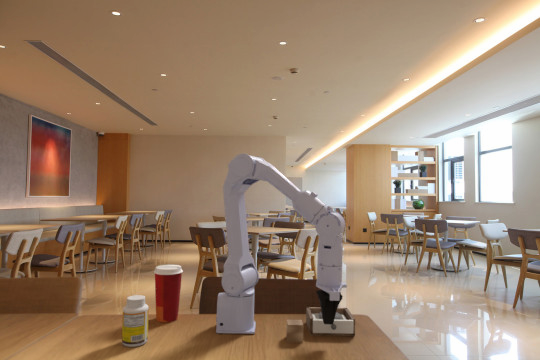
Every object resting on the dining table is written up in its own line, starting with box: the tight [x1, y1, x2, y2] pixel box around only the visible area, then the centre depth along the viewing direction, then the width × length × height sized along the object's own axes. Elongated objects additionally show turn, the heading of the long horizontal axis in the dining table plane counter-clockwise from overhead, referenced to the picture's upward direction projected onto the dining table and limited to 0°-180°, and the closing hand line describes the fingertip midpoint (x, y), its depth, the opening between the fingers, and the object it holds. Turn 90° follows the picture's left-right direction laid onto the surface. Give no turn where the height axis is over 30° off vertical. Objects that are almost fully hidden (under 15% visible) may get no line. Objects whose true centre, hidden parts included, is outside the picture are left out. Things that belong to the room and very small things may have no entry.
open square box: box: [305, 306, 356, 337], centre depth 96 cm, size 11×9×4 cm
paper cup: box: [153, 264, 184, 324], centre depth 101 cm, size 8×8×14 cm
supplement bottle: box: [121, 294, 149, 348], centre depth 85 cm, size 6×6×10 cm
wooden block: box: [286, 319, 304, 343], centre depth 88 cm, size 4×4×4 cm
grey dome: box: [319, 312, 341, 320], centre depth 96 cm, size 6×6×2 cm
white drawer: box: [312, 313, 354, 334], centre depth 95 cm, size 10×10×3 cm
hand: (328, 323), depth 86 cm, fingers closed
